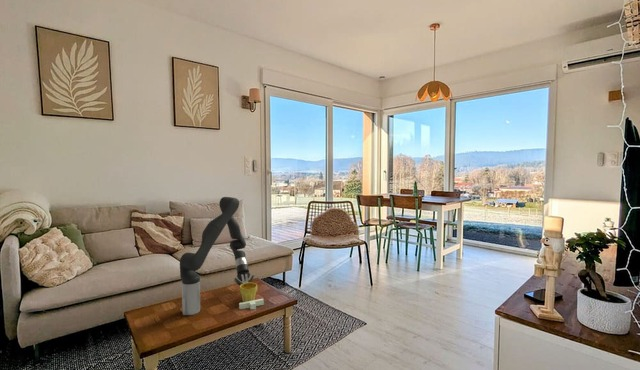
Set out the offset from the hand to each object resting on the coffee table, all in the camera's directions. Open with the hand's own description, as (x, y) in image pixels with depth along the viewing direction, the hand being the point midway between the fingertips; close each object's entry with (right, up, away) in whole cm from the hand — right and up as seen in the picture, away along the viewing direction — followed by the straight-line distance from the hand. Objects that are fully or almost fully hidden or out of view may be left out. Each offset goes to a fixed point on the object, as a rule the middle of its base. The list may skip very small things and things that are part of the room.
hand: (246, 291), depth 191 cm
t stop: (+6, -5, -12) cm, 15 cm away
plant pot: (+2, -5, -4) cm, 7 cm away
